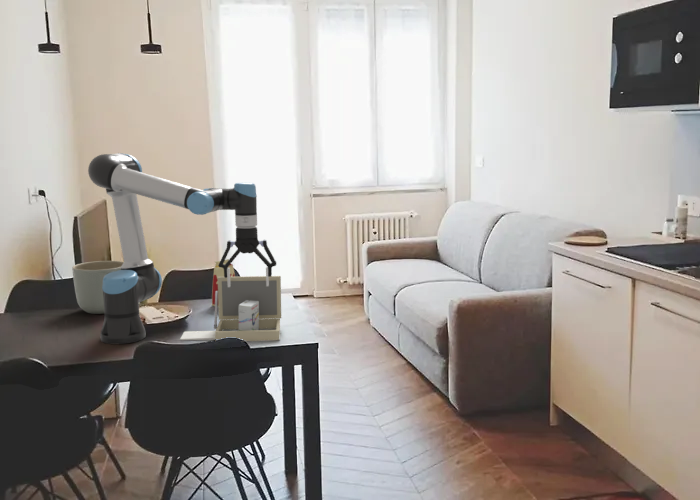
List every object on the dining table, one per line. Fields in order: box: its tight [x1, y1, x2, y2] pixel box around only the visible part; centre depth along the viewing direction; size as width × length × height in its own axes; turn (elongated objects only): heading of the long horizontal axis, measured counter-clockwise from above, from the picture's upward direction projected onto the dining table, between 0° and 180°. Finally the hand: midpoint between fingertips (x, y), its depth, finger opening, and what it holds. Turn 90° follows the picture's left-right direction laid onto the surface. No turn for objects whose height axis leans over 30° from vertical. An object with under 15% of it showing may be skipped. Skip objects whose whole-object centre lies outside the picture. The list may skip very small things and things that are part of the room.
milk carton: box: [211, 258, 236, 308], centre depth 283 cm, size 9×9×20 cm
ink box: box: [238, 300, 260, 331], centre depth 240 cm, size 9×5×12 cm, turn 168°
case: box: [213, 275, 282, 342], centre depth 240 cm, size 24×17×20 cm
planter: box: [72, 260, 124, 315], centre depth 273 cm, size 21×21×19 cm
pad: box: [179, 330, 216, 341], centre depth 239 cm, size 13×9×1 cm
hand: (248, 286), depth 238 cm, fingers open, 13 cm apart
